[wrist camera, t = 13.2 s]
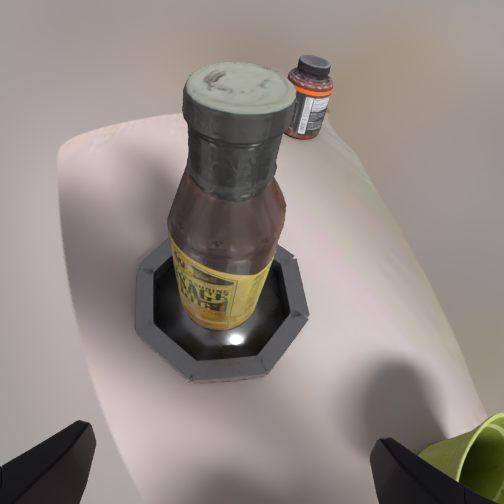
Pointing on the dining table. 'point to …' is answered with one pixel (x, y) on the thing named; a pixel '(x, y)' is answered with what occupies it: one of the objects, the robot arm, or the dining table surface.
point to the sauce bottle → (229, 190)
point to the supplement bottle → (310, 96)
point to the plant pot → (474, 458)
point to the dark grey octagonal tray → (227, 342)
